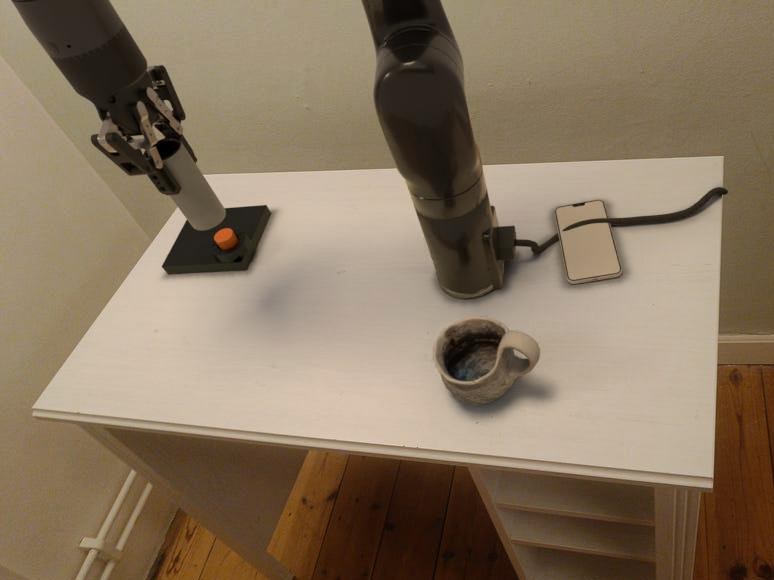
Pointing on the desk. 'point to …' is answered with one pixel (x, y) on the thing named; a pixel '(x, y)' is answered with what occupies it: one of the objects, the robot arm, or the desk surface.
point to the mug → (482, 358)
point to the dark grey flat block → (204, 254)
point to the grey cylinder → (190, 186)
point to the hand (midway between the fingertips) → (181, 177)
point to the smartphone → (587, 243)
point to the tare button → (226, 239)
